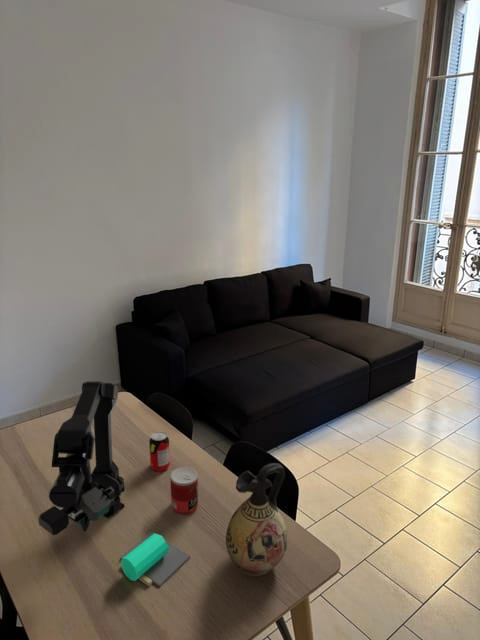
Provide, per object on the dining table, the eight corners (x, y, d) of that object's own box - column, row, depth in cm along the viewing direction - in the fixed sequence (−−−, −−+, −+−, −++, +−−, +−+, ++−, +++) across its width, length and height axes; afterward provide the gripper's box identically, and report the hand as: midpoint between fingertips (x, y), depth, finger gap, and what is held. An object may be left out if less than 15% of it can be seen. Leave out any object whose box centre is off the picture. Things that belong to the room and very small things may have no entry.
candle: (117, 560, 118) (153, 532, 127) (129, 582, 117) (165, 552, 126) (128, 555, 115) (164, 526, 124) (140, 578, 114) (176, 547, 123)
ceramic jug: (240, 597, 113) (242, 493, 103) (217, 550, 127) (217, 453, 117) (302, 574, 120) (310, 474, 110) (274, 531, 133) (279, 438, 123)
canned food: (194, 517, 138) (193, 485, 134) (167, 512, 139) (166, 481, 136) (201, 499, 145) (201, 468, 141) (176, 495, 146) (175, 465, 143)
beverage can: (168, 459, 163) (166, 429, 159) (171, 470, 158) (170, 439, 154) (149, 463, 161) (147, 432, 157) (152, 474, 156) (150, 442, 152)
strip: (121, 566, 121) (121, 563, 121) (124, 564, 122) (124, 560, 121) (149, 587, 116) (149, 583, 115) (152, 584, 116) (152, 580, 116)
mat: (120, 559, 123) (120, 557, 123) (151, 533, 132) (151, 531, 132) (159, 586, 116) (159, 585, 115) (190, 557, 124) (190, 555, 124)
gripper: (64, 515, 98) (71, 573, 103) (133, 469, 112) (136, 523, 118) (33, 493, 104) (41, 549, 109) (102, 452, 119) (107, 504, 124)
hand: (84, 531), depth 115 cm, fingers closed
